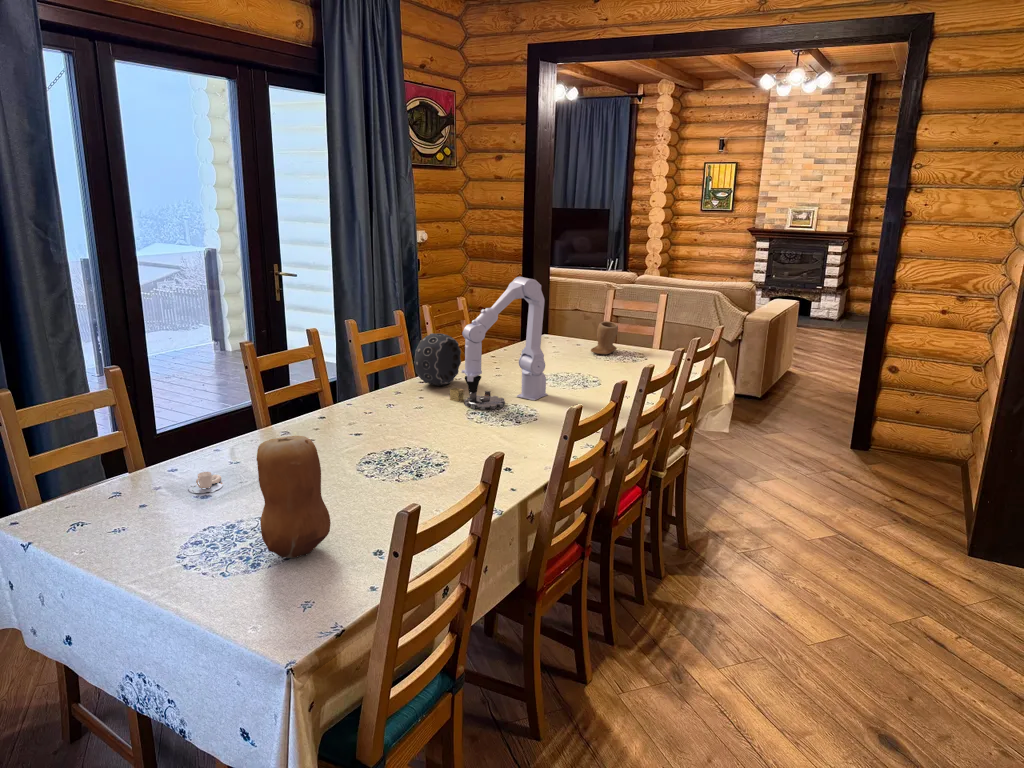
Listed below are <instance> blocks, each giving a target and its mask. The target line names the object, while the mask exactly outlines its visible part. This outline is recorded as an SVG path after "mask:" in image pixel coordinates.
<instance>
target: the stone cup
mask: <svg viewBox="0 0 1024 768" xmlns="http://www.w3.org/2000/svg"><path fill="white" fill-rule="evenodd" d="M618 330H619V326H618V324H616V323H615V322H612V321H606V320H605V321H601V322H599V324H598V326H597V330H596V338H597V345H596V346H593V347H592V348H591V349H590V352H591V353H593V354H598V355H609V354H611V353H613V352H615V351H616V350H617V349H618V347H616V346H615V345H614V342H615V339H616V338H617V336H618V332H619V331H618Z"/></svg>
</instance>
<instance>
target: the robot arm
mask: <svg viewBox="0 0 1024 768" xmlns="http://www.w3.org/2000/svg"><path fill="white" fill-rule="evenodd" d="M518 299H519V300H520V299H524V300H525V301H526V302H527V303H528V312H527V322H526V323H527V325H526V335H525V336H526V338H525V346H524V348H523V349H522V350H521V354H520V356H519V358H518V366H519V368H520V369H521V392H520V394H516V397H517V398H521V399H526V400H530V401H536V400H539V399H541V398H544V397H546V396H548V393H547V391H546V390H547V377H546V375H545V373H544V371H545V369H546V362H545V354H544V352H543V350H542V348H541V345H542V344H541V343H542V335H543V334H542V333H543V321H544V311H545V301H546V300H545V297H544V294H543V291H542V284H540V282H538V281H537V279H535V278H534V279H533V278H528V277H523V276H517V277H515V278H514V279H513V280H512V281H511V282H509V284H508V286H507V288H506V289H505V291H504V292H503V293H502V294H501V295H500V296H499V298H498V299H497V300H496V301H495V302H494V303H493V305H492V306H491V307H485V309H484V308H482V309H481V310H480V313H479V315H478V316H477V317H476V318H475V319H473V320H472V321H471V323H469V324H466V325H465V326H464V328H463V331H462V332H461V335H462V337H463V338H464V341H465V342H464V343H465V345H464V357H465V358H464V369H462V370H461V374H464V381H465V382H466V385H467V388H468V395H469V396H470V392H472V391H475V392H478V387H479V383H480V381H481V379H482V373H483V370H482V357H483V356H482V354H483V353H482V351H483V350H482V348H483V347H482V346H483V345H482V344H483V342H482V341H484V339H485V337H486V333H487V332H488V331H489V330H490V329H491V327H492V326H493V325H494V324H495V323H496V322H497V321H498V319H499V314H500V313H502V311H503V310H505V309H506V308H507V307H508V306H509V305H510V304H511V303H512V302H513V301H515V300H518Z"/></svg>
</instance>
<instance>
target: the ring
mask: <svg viewBox="0 0 1024 768" xmlns="http://www.w3.org/2000/svg"><path fill="white" fill-rule="evenodd" d="M461 354H462V349H461V348H460V346H459V342H458V341H457V340H456V339H455V338H454V337H452V336H451V335H448V334H444V333H430V334H429V335H426V336H424V337H423V338H422V339H421V340H419V343H418V345H417V347H416V349H415V354H414V361H413V364H414V368H415V369H414V370H415V374H417V376H418V378H419V379H420V380H422V381H423V383H425V384H429V385H432V386H437V387H438V386H446V385H449V384H450V383H452V382H453V381H454V379H455V378H456V377H457V375H459V369H460V366H461V364H462V360H461Z"/></svg>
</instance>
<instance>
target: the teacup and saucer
mask: <svg viewBox="0 0 1024 768" xmlns="http://www.w3.org/2000/svg"><path fill="white" fill-rule="evenodd" d="M221 481H222V476H221V475H220V474H212V472H211V471H202V472H200V473H197V478H196V481H195V482H196V483H197V485H198V486H197V487H198V488H200V489H201V488H209V487H212V486H213V485H212V484H214V485H216V484H215V483H219V482H221ZM196 483H195V484H196ZM198 483H199V484H200V485H199V484H198ZM209 489H210V488H209Z"/></svg>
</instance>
